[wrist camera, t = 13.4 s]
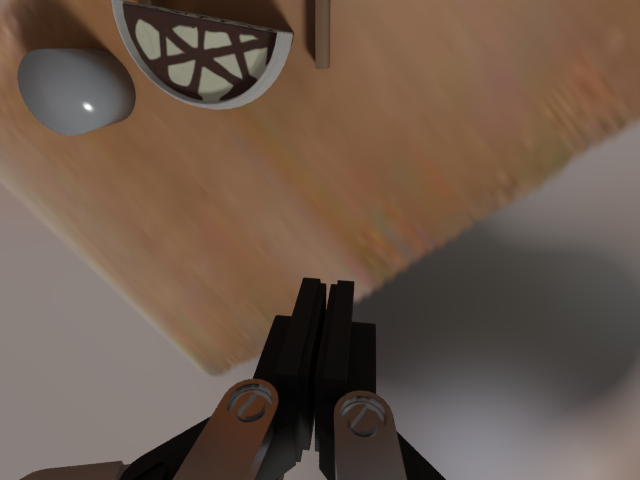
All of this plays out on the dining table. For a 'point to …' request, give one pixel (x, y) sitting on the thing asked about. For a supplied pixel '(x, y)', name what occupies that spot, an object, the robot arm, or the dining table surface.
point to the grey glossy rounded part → (76, 88)
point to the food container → (202, 54)
